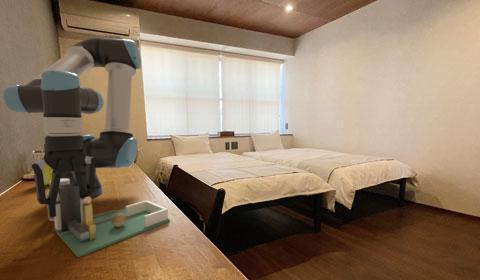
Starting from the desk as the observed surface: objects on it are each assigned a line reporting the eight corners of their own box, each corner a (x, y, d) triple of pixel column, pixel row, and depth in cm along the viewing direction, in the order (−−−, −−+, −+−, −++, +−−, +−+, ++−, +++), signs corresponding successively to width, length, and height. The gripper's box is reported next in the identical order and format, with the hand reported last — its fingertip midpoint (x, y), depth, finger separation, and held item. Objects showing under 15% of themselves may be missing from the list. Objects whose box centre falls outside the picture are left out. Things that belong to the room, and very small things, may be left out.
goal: (125, 217, 66) (125, 206, 65) (147, 210, 71) (146, 200, 71) (146, 229, 58) (145, 216, 58) (168, 220, 64) (167, 208, 63)
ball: (109, 227, 58) (108, 213, 58) (123, 222, 61) (122, 209, 61) (115, 231, 56) (114, 217, 56) (129, 226, 59) (128, 213, 59)
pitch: (54, 230, 58) (54, 226, 58) (137, 206, 75) (137, 203, 75) (77, 257, 46) (77, 252, 46) (169, 221, 63) (169, 217, 63)
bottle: (37, 188, 96) (33, 142, 95) (35, 185, 100) (32, 141, 99) (71, 182, 105) (68, 140, 104) (68, 180, 109) (65, 139, 108)
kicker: (58, 227, 57) (55, 186, 57) (78, 222, 61) (76, 182, 60) (74, 245, 49) (71, 197, 48) (97, 237, 52) (94, 192, 52)
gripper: (19, 137, 47) (27, 243, 49) (107, 134, 60) (111, 217, 62) (14, 135, 52) (21, 233, 53) (96, 133, 65) (100, 211, 67)
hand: (69, 224), depth 58 cm, fingers closed on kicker, 4 cm apart
